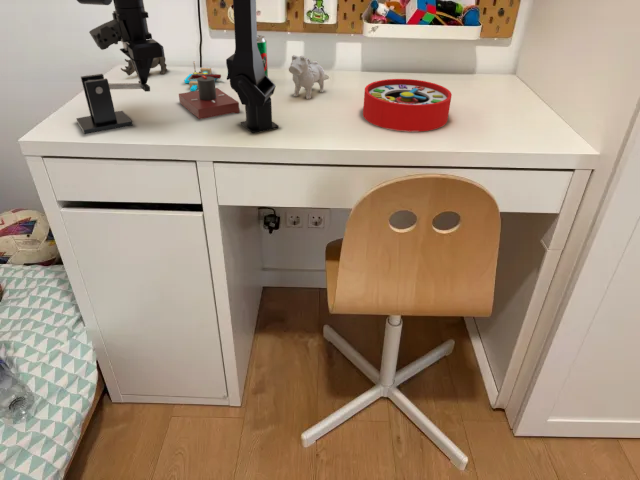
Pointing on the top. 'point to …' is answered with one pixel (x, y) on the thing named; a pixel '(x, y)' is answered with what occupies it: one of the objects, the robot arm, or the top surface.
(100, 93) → the lever bracket
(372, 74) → the top surface
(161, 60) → the rhino figurine
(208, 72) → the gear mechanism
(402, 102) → the toy clock
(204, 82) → the timer dial
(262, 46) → the soda can
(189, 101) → the dial panel
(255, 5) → the robot arm
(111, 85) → the lever
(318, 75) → the dog figurine
